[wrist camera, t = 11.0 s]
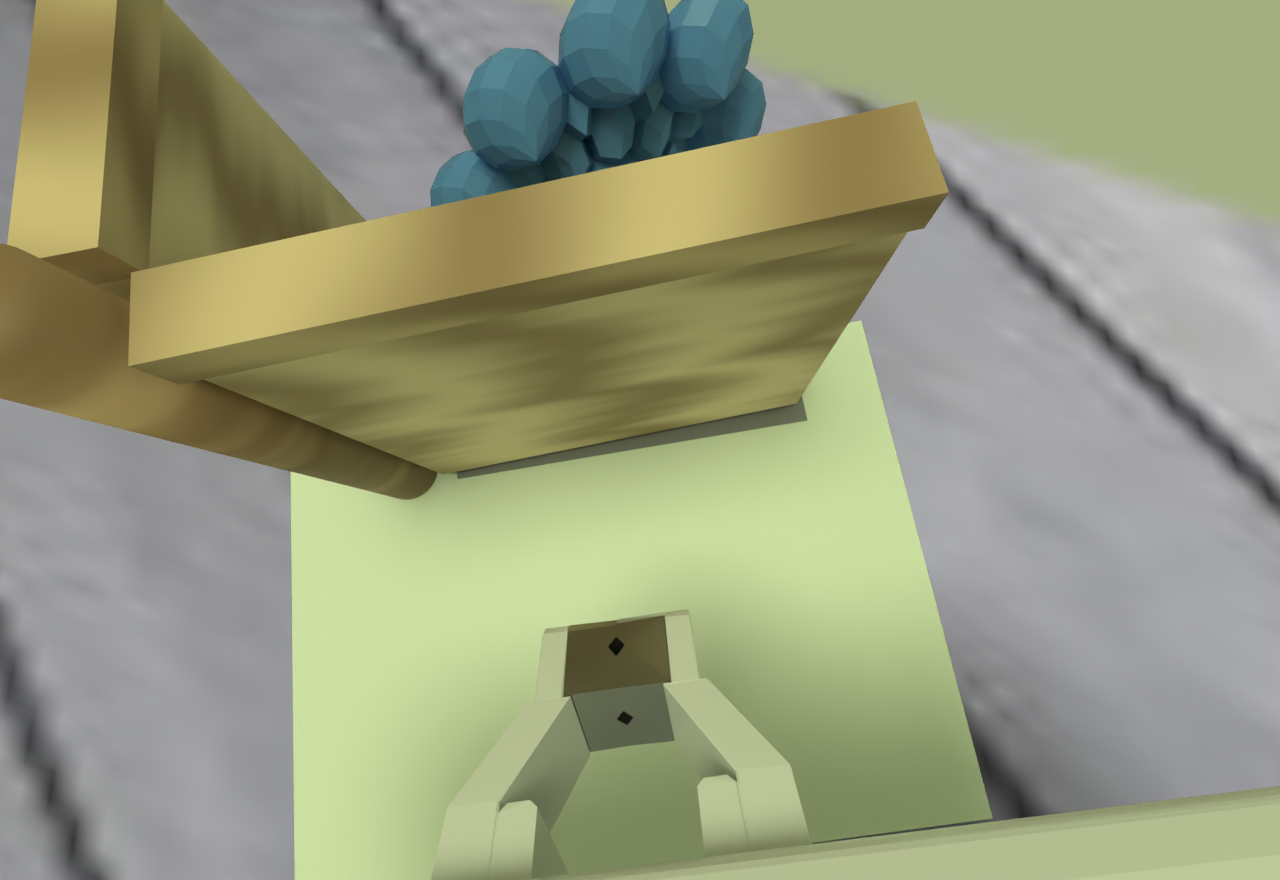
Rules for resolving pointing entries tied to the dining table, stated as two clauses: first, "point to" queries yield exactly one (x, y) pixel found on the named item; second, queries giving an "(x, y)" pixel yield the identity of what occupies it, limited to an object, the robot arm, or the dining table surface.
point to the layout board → (620, 588)
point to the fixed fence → (152, 232)
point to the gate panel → (558, 298)
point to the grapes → (607, 96)
